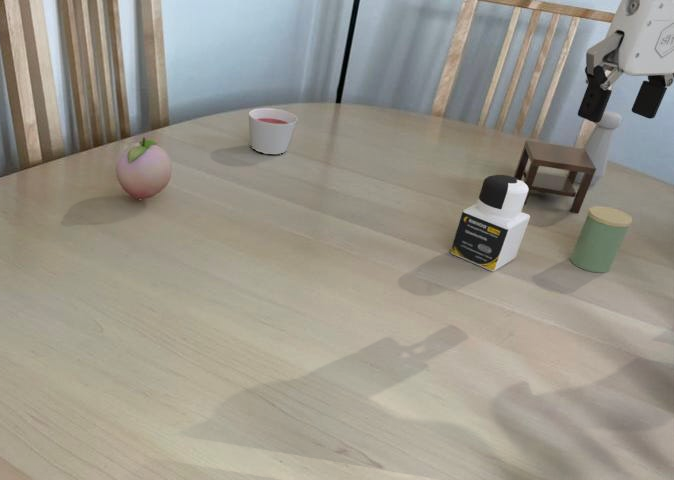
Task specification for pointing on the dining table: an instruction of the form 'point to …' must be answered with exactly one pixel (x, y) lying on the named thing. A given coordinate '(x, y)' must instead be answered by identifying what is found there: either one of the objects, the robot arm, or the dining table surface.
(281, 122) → the candle
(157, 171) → the decorative fruit
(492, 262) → the medicine bottle
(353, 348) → the dining table surface
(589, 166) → the stand
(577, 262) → the tea tin
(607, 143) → the salt shaker
